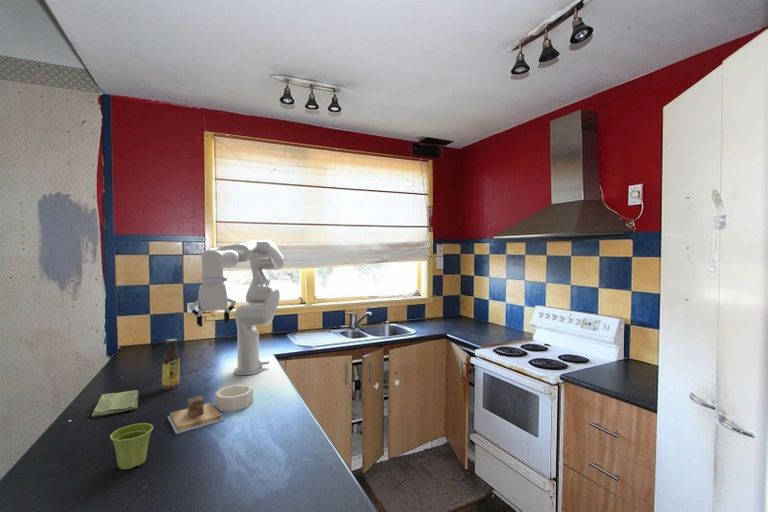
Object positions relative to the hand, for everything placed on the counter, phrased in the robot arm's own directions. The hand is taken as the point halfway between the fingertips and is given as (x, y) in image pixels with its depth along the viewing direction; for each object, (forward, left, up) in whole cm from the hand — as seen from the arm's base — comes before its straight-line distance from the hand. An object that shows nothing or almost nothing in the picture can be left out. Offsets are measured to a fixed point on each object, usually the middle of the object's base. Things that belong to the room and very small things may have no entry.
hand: (213, 324), depth 144 cm
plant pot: (+30, +37, -28) cm, 55 cm away
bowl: (-3, +16, -28) cm, 32 cm away
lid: (+11, +20, -27) cm, 35 cm away
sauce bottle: (+12, -18, -28) cm, 36 cm away
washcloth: (+30, -11, -29) cm, 43 cm away
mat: (+11, +20, -28) cm, 36 cm away
